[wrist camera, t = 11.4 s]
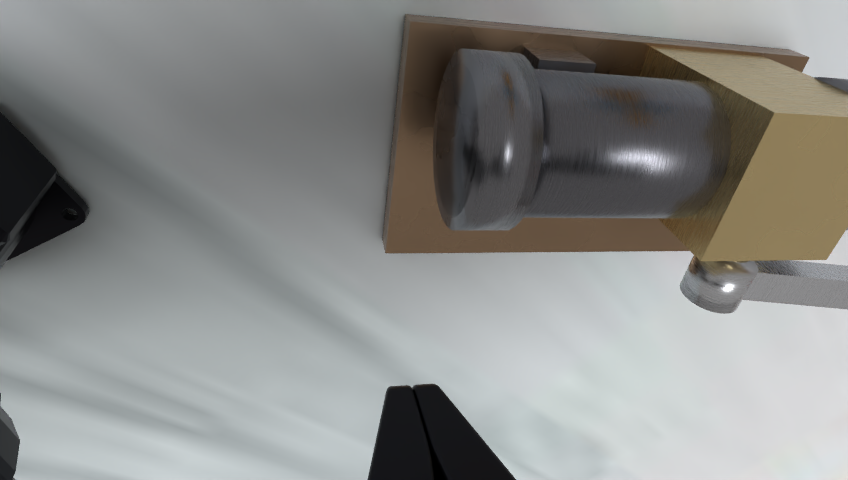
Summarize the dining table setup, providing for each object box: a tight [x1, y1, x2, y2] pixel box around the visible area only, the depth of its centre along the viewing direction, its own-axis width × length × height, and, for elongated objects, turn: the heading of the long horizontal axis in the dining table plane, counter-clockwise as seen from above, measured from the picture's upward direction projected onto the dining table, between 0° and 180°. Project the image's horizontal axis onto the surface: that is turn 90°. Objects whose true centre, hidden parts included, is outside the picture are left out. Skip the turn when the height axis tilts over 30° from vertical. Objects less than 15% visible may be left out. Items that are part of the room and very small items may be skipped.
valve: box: [382, 14, 848, 263], centre depth 19 cm, size 16×9×7 cm, turn 83°
